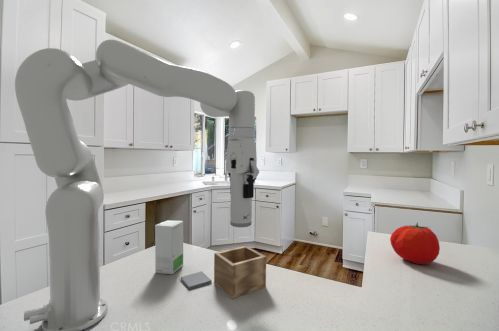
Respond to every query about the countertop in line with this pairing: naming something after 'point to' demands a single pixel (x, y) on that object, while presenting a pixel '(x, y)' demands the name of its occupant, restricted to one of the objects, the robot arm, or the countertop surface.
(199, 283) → the slate coaster
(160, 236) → the skincare box
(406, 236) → the tomato
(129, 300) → the countertop surface
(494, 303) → the countertop surface
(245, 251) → the open wooden box
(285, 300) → the countertop surface
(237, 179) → the travel mug
